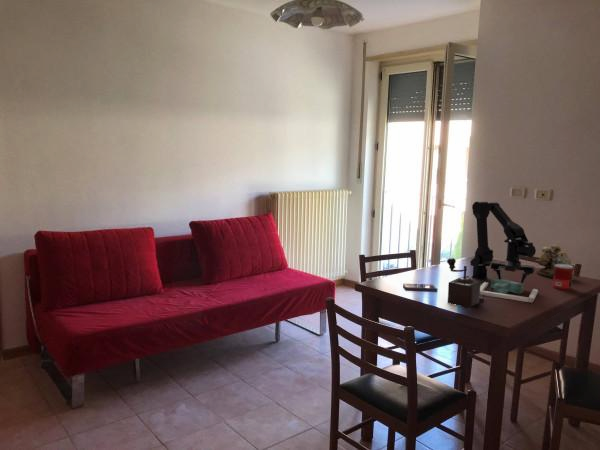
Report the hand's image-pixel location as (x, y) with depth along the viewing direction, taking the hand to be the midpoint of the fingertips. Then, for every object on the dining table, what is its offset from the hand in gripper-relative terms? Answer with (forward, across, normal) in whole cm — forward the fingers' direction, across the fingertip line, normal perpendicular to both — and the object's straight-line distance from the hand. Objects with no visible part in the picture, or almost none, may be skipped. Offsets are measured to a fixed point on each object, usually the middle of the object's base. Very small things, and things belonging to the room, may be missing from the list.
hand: (510, 284), depth 240 cm
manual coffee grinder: (+2, -16, -36) cm, 39 cm away
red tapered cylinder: (+2, +21, +14) cm, 25 cm away
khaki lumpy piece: (+2, +15, +37) cm, 40 cm away
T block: (+2, -2, -8) cm, 9 cm away
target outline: (+2, 0, -10) cm, 10 cm away
